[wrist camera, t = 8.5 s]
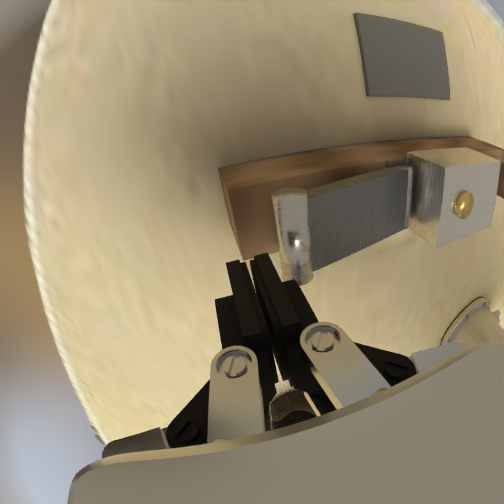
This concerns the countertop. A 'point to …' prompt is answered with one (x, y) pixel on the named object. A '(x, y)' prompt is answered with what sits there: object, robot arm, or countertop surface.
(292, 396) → the lantern
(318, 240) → the lever
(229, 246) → the countertop surface
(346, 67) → the countertop surface
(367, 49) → the mat
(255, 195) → the plane body
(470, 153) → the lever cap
